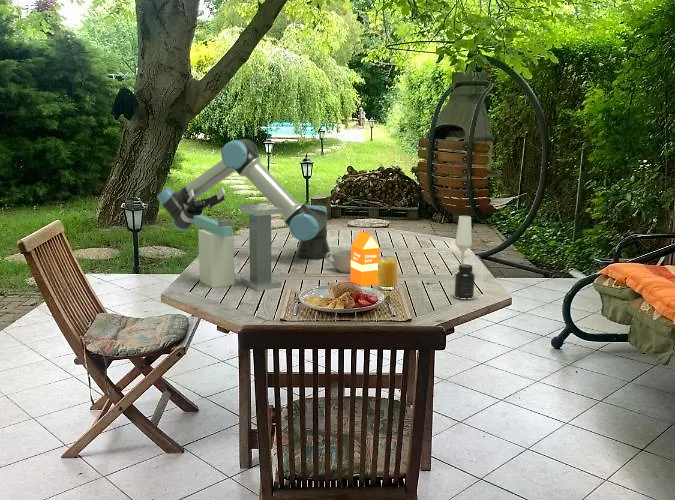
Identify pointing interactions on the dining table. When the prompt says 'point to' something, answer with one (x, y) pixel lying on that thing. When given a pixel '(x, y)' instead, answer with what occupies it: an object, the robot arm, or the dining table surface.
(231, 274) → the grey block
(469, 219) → the champagne flute
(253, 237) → the standard post
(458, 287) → the supplement bottle
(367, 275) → the orange juice
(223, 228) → the ledger bar
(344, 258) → the teacup
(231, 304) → the dining table surface
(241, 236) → the dining table surface
